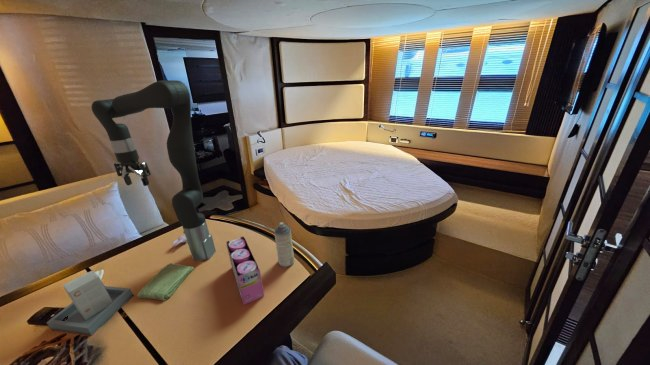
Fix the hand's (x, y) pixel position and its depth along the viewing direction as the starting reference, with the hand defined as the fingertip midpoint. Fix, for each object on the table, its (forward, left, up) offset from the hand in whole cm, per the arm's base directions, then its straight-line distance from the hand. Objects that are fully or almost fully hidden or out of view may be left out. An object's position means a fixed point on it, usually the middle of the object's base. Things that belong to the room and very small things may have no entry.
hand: (138, 185), depth 110 cm
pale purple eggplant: (-10, -5, -33) cm, 35 cm away
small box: (-5, +36, -32) cm, 49 cm away
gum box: (-54, +17, -33) cm, 65 cm away
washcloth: (-22, +21, -34) cm, 45 cm away
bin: (-5, +37, -33) cm, 50 cm away
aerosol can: (-66, +5, -33) cm, 74 cm away
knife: (+11, +26, -34) cm, 44 cm away
